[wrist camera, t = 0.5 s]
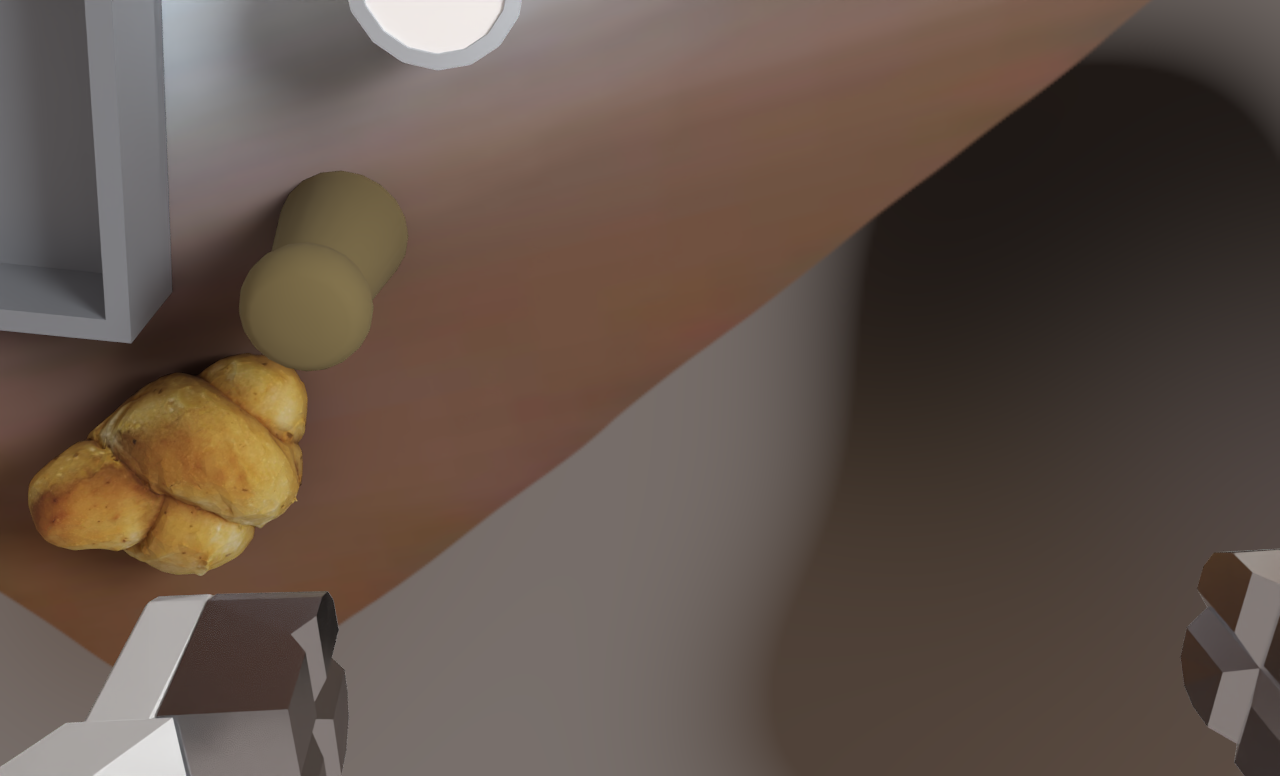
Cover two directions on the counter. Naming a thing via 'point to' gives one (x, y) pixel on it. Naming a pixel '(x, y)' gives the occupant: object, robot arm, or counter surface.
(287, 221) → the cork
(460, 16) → the shot glass
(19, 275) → the bin
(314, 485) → the counter surface
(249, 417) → the bread roll
